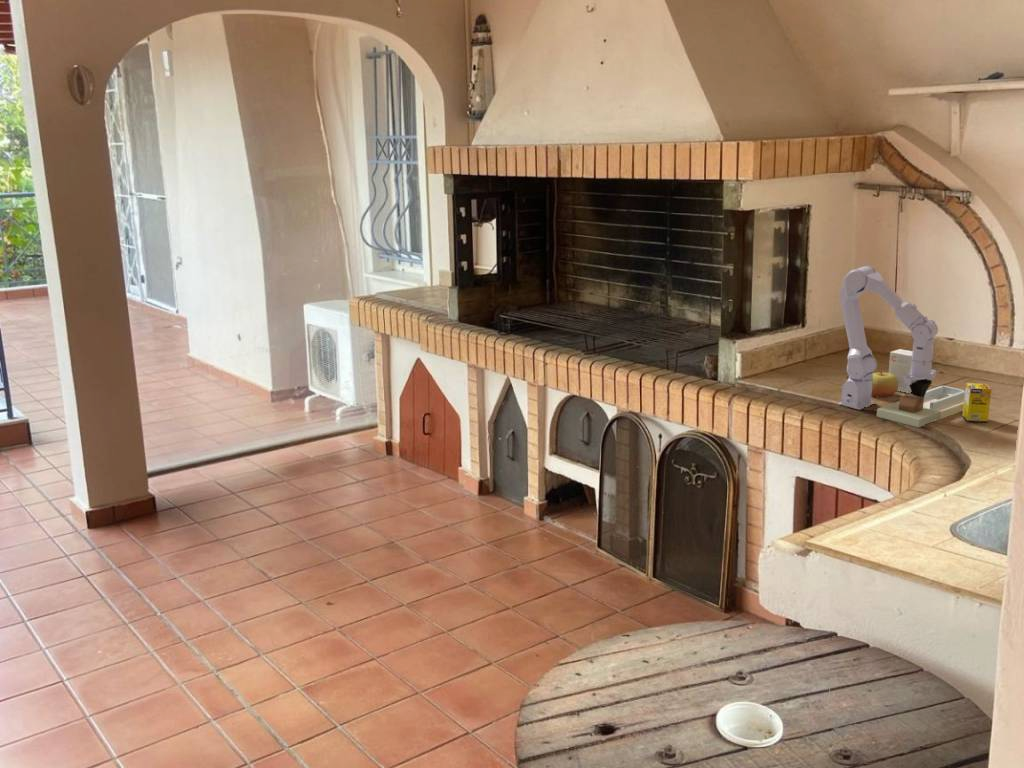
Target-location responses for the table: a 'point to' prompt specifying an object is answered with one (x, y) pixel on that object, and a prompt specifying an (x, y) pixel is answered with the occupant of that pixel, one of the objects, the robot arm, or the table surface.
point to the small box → (901, 367)
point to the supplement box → (976, 403)
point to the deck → (927, 407)
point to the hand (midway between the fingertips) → (917, 402)
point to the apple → (884, 384)
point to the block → (911, 403)
